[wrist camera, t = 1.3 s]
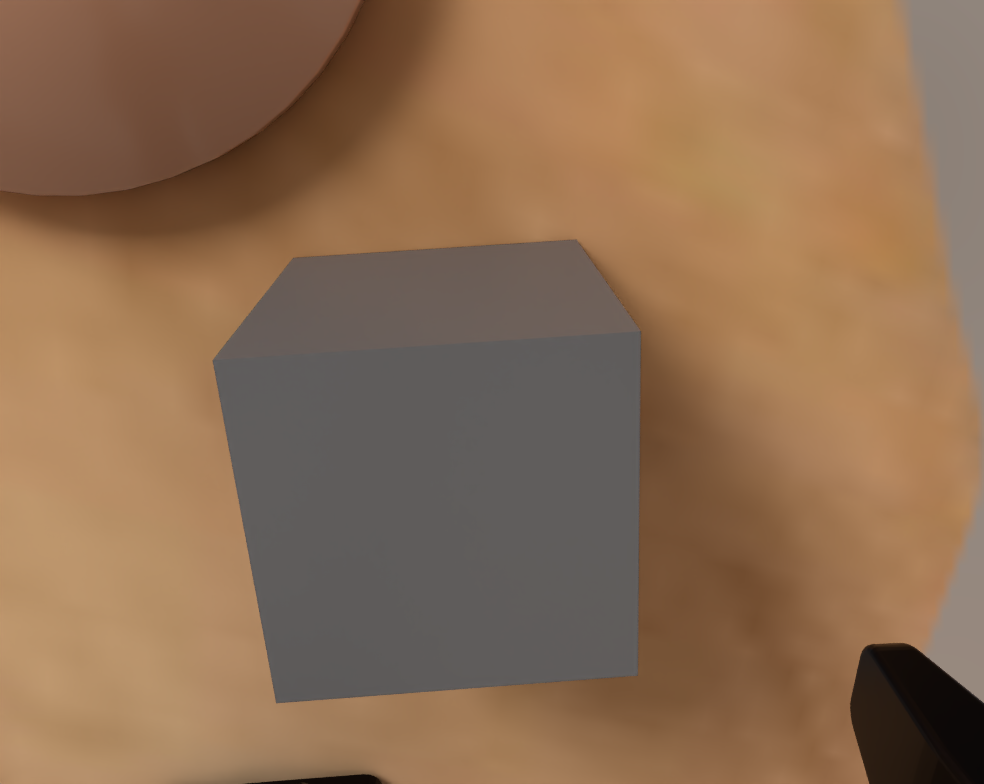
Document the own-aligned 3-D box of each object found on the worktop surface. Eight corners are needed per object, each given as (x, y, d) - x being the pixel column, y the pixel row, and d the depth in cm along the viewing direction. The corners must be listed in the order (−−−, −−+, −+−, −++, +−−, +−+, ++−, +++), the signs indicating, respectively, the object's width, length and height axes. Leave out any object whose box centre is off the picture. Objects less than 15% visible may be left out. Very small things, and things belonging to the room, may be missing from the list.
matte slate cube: (581, 490, 22) (637, 675, 15) (329, 508, 22) (276, 702, 15) (576, 239, 19) (640, 331, 13) (292, 258, 19) (212, 360, 13)
